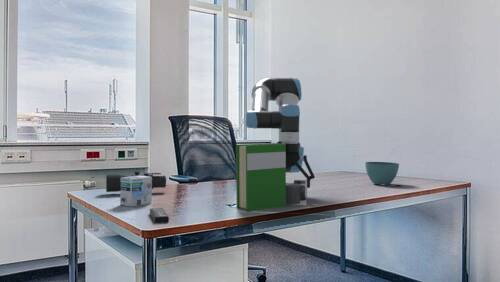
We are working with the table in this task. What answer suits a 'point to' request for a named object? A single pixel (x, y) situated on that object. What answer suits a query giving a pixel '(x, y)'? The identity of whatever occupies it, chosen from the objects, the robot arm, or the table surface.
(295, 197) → the grey cylinder
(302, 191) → the lens barrel
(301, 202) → the mat
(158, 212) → the multiport hub
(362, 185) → the table surface
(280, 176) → the hardback book
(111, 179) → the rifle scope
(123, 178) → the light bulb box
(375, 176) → the teal bowl
